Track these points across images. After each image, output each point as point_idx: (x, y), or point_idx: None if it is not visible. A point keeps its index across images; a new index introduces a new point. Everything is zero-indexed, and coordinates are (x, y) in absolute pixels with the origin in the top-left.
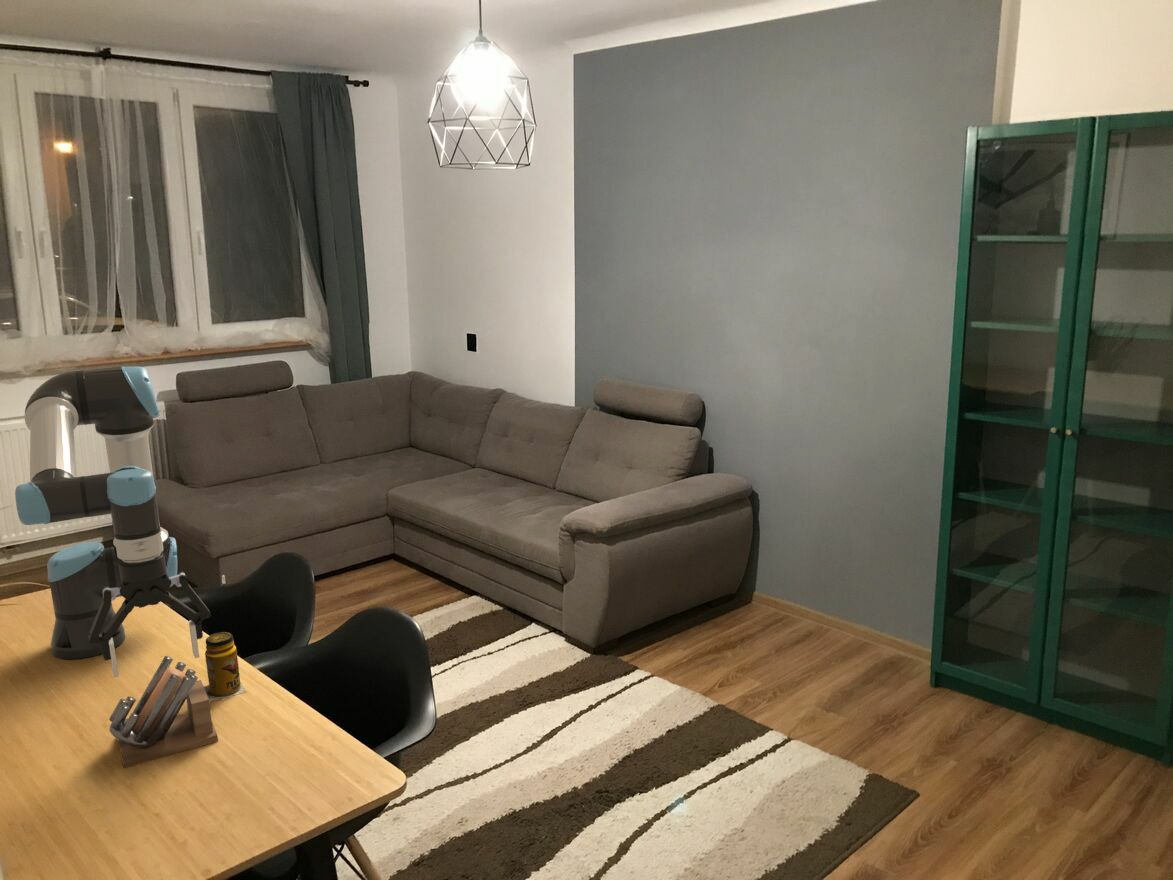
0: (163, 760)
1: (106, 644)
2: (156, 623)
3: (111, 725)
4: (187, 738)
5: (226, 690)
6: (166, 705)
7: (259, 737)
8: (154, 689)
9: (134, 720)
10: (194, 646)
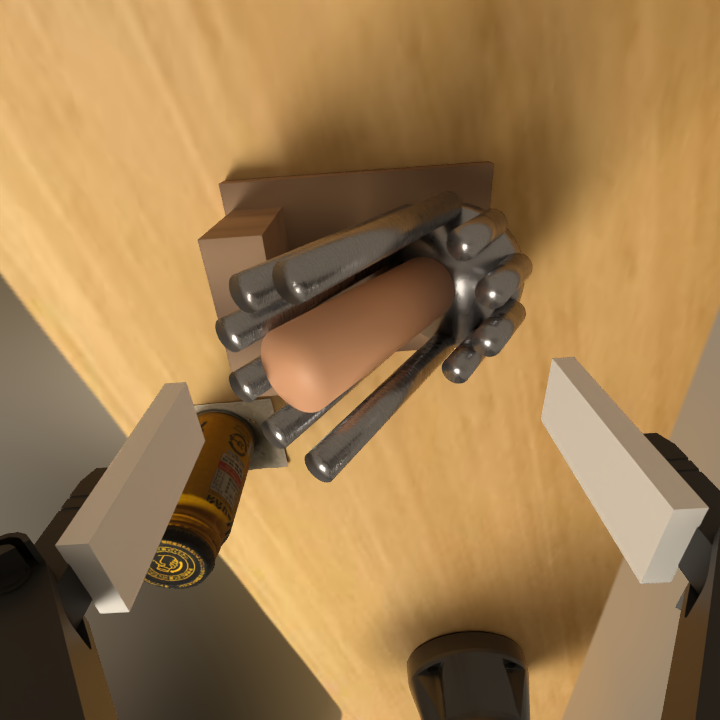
0: (380, 145)
1: (710, 519)
2: (354, 681)
3: (530, 265)
4: (307, 211)
5: (210, 418)
6: (352, 289)
7: (94, 134)
8: (386, 348)
9: (468, 223)
10: (155, 425)
